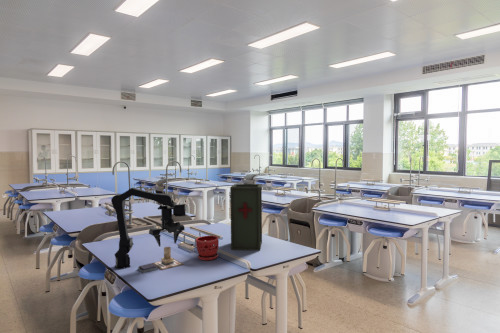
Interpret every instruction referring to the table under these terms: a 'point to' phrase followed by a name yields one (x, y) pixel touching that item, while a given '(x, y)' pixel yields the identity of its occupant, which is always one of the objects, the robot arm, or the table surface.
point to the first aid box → (246, 216)
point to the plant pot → (207, 247)
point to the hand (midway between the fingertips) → (167, 244)
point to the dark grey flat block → (147, 267)
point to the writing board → (162, 267)
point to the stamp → (167, 257)
